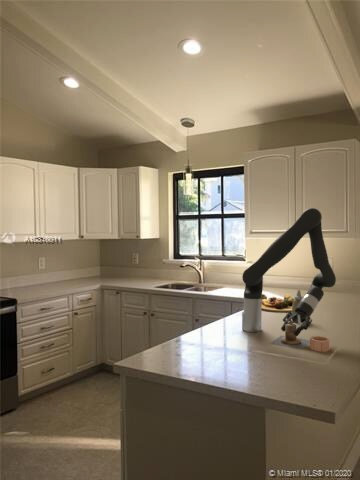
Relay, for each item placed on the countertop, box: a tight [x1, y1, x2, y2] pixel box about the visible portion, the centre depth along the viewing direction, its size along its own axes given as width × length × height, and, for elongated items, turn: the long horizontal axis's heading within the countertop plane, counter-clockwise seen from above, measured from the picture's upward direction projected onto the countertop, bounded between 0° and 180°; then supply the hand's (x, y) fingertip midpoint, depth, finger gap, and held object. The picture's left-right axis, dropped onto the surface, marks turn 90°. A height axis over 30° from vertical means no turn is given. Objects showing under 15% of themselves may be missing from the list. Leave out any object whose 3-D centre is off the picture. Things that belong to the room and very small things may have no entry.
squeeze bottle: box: [291, 289, 304, 313], centre depth 230 cm, size 8×8×18 cm
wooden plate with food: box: [262, 293, 295, 314], centre depth 269 cm, size 32×32×8 cm
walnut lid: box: [281, 323, 301, 345], centre depth 189 cm, size 9×9×8 cm
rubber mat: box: [269, 335, 310, 350], centre depth 189 cm, size 15×16×1 cm
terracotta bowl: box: [309, 335, 331, 353], centre depth 179 cm, size 8×8×5 cm
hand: (288, 332), depth 188 cm, fingers open, 8 cm apart
